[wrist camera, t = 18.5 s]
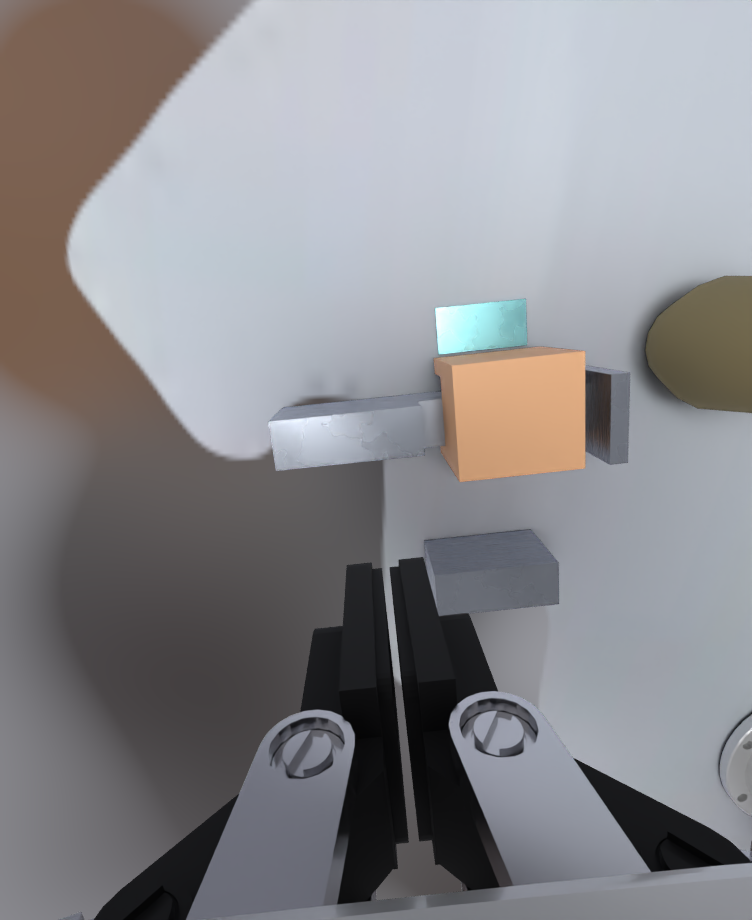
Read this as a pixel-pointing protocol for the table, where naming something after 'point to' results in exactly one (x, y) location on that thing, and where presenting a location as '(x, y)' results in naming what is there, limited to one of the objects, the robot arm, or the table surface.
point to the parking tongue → (491, 572)
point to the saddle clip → (513, 412)
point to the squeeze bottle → (707, 345)
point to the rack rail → (438, 404)
